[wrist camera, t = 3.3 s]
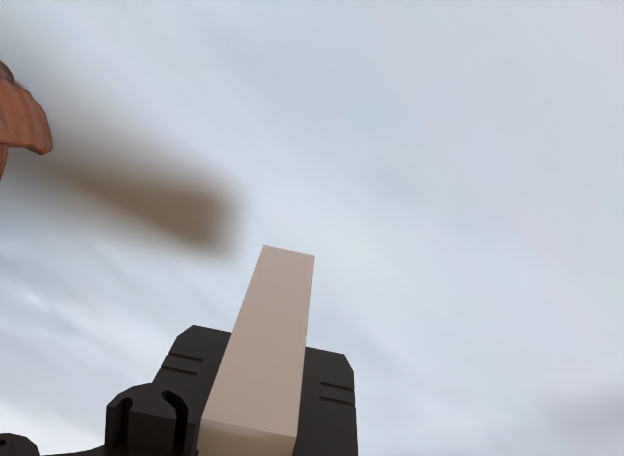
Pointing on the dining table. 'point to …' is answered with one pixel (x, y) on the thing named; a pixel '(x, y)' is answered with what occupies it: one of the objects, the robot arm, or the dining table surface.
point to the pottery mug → (20, 120)
